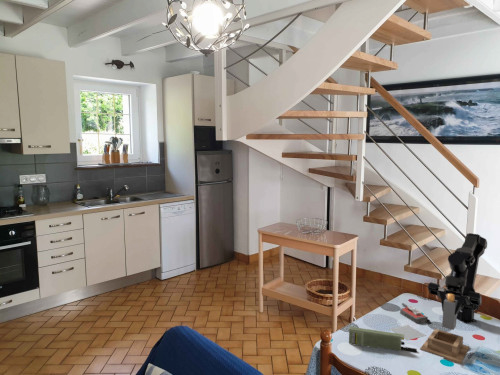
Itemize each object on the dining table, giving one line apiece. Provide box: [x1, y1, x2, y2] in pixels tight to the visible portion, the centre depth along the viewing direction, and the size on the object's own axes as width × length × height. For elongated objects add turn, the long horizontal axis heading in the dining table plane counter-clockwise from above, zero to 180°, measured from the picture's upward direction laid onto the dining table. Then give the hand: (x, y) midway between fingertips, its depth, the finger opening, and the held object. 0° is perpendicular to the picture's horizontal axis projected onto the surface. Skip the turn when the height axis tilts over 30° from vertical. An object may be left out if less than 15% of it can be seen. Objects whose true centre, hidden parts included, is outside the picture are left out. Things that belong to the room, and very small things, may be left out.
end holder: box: [419, 328, 470, 365], centre depth 147 cm, size 14×14×5 cm
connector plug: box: [441, 294, 458, 331], centre depth 149 cm, size 4×4×13 cm
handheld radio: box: [348, 326, 418, 353], centre depth 149 cm, size 7×3×25 cm
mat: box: [389, 324, 427, 341], centre depth 160 cm, size 10×10×1 cm
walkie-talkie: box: [399, 302, 431, 324], centre depth 178 cm, size 9×4×20 cm
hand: (449, 312), depth 149 cm, fingers closed on connector plug, 4 cm apart
